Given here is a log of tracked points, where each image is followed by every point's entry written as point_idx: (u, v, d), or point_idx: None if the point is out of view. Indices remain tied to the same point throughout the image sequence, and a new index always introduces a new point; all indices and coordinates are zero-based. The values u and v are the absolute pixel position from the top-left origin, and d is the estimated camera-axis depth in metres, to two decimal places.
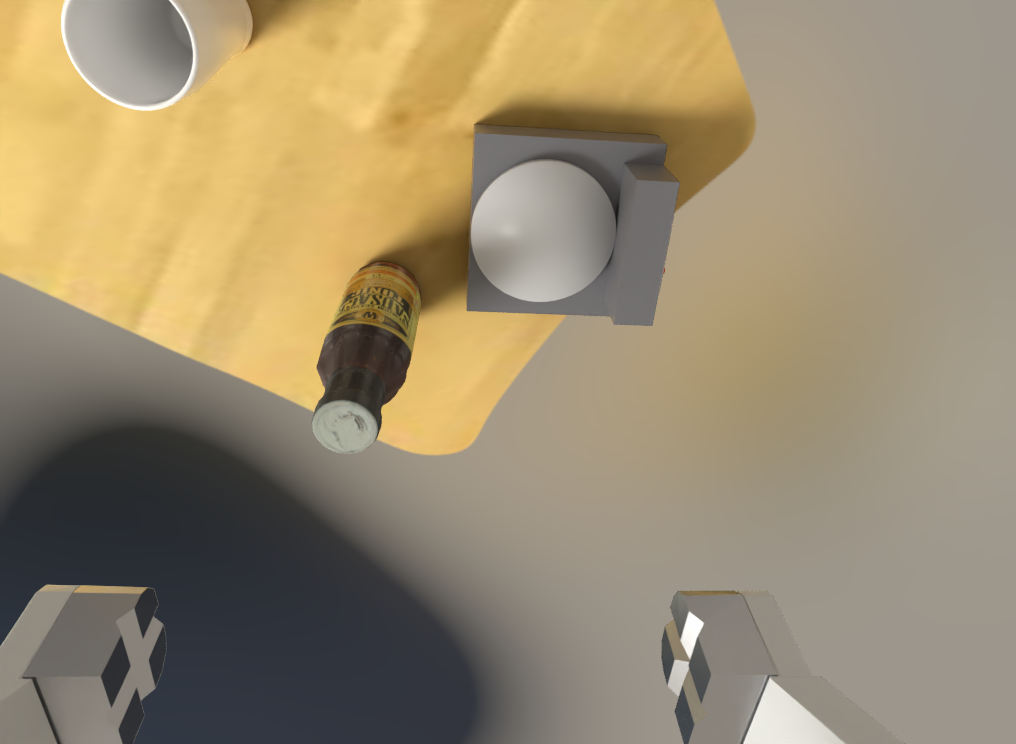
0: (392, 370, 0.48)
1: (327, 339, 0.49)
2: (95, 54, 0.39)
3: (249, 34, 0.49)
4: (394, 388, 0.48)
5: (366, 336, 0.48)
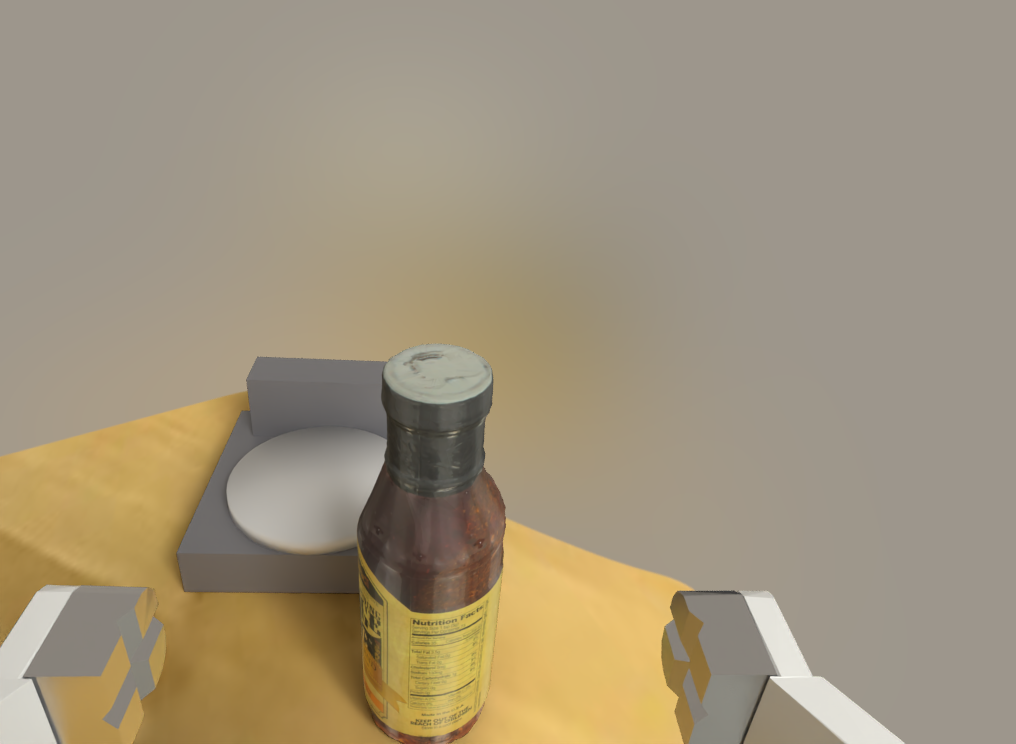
0: None
1: (387, 574, 0.28)
2: None
3: None
4: None
5: (367, 500, 0.30)
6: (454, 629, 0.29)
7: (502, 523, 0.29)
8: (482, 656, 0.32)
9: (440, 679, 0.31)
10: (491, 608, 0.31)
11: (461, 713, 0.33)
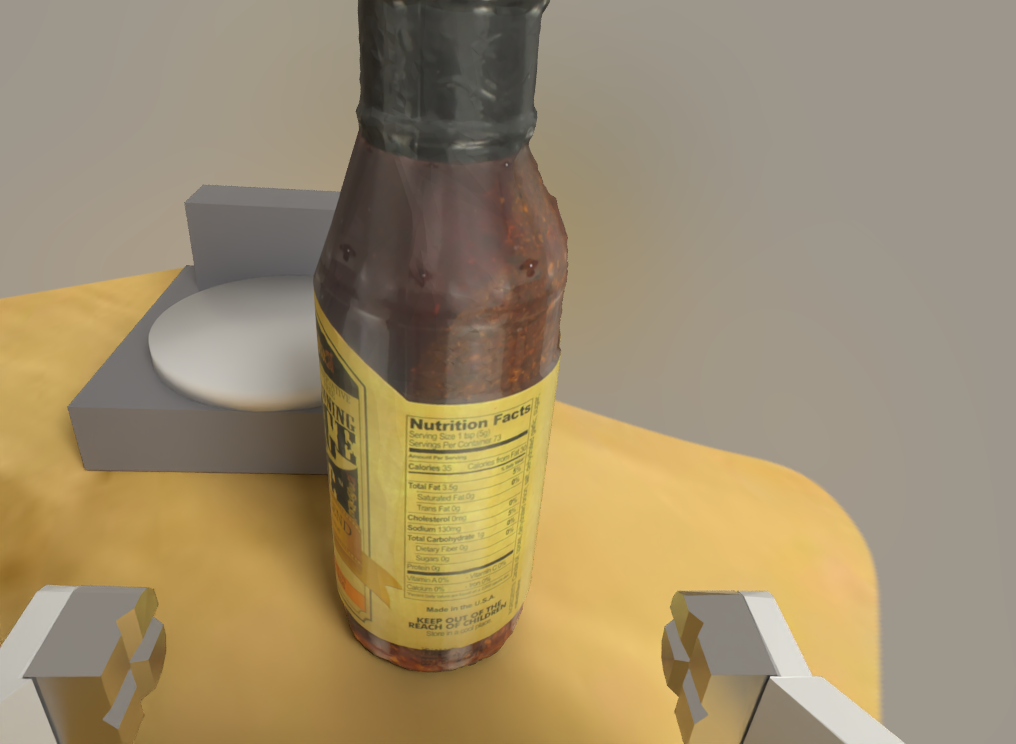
0: None
1: (364, 329, 0.16)
2: None
3: None
4: None
5: (331, 224, 0.17)
6: (482, 442, 0.17)
7: (565, 255, 0.17)
8: (525, 511, 0.20)
9: (457, 542, 0.19)
10: (542, 421, 0.18)
11: (491, 612, 0.21)
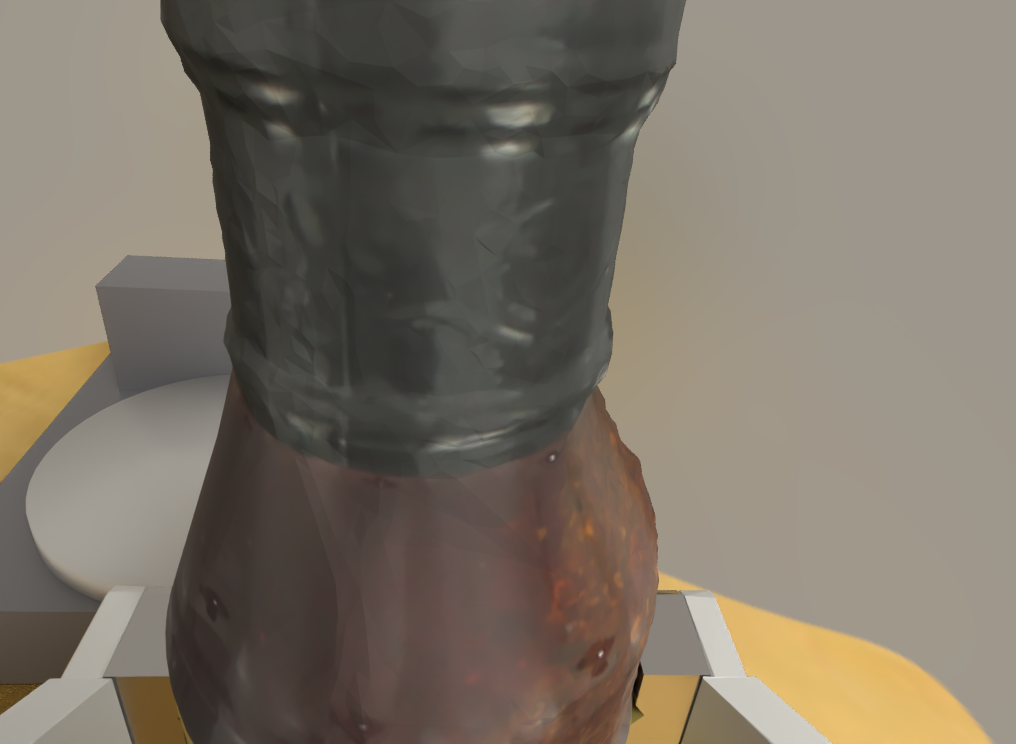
0: None
1: None
2: None
3: None
4: None
5: None
6: None
7: (656, 571, 0.09)
8: None
9: None
10: None
11: None
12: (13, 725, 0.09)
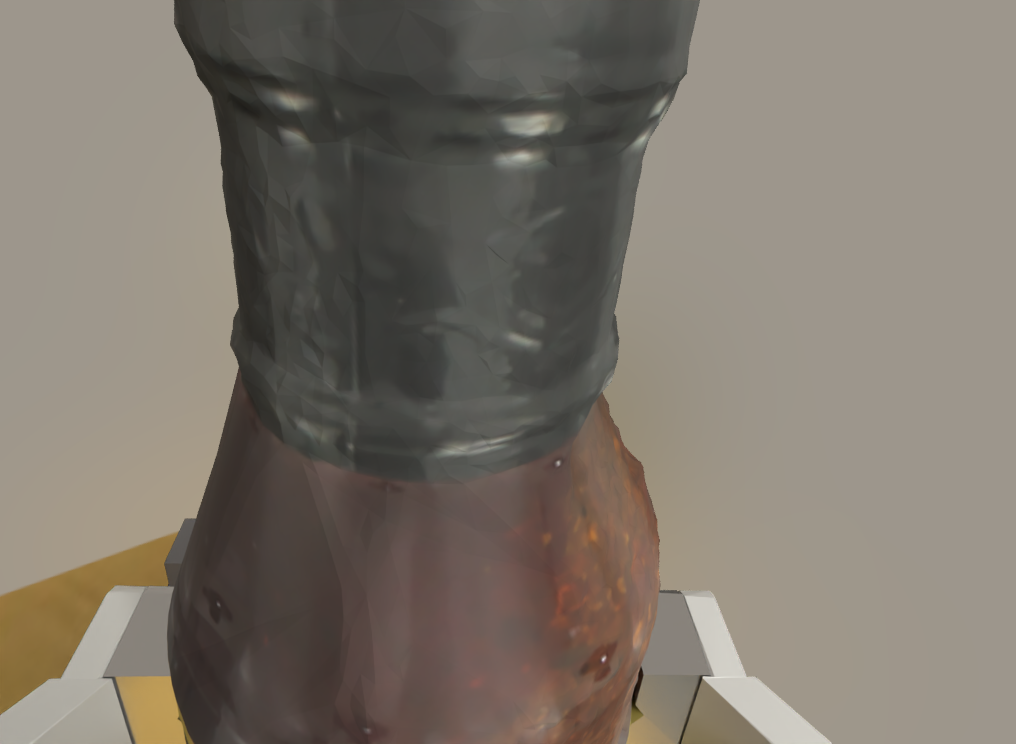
0: None
1: None
2: None
3: None
4: None
5: None
6: None
7: (658, 576, 0.09)
8: None
9: None
10: None
11: None
12: (13, 725, 0.09)
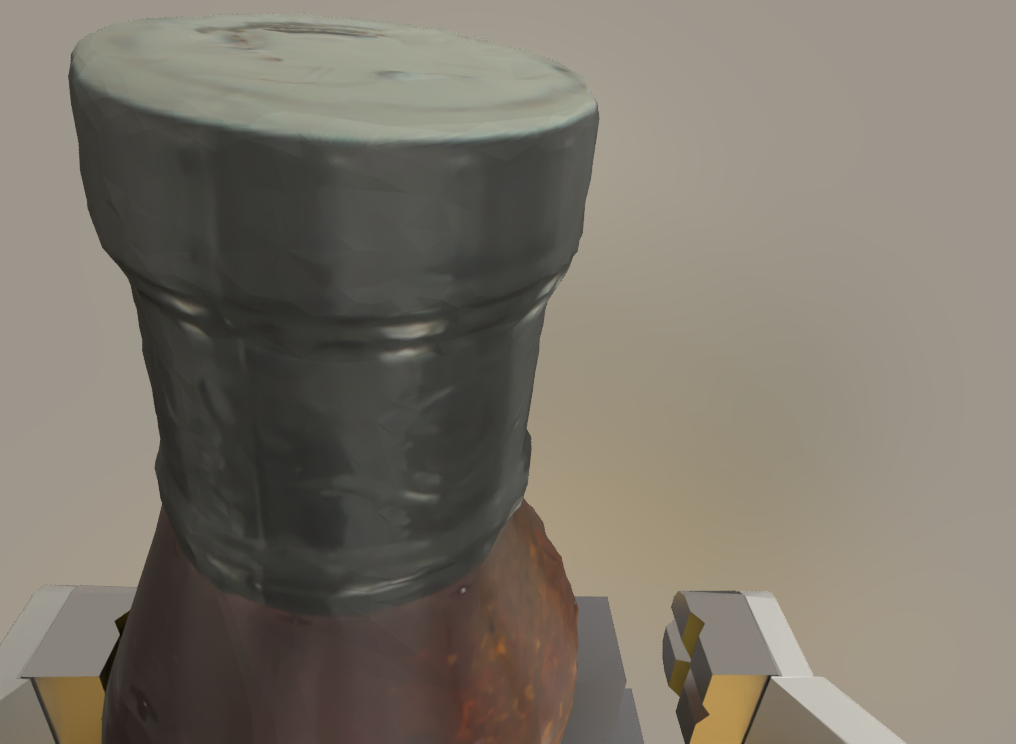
0: None
1: None
2: None
3: None
4: None
5: None
6: None
7: (573, 669, 0.09)
8: None
9: None
10: None
11: None
12: None
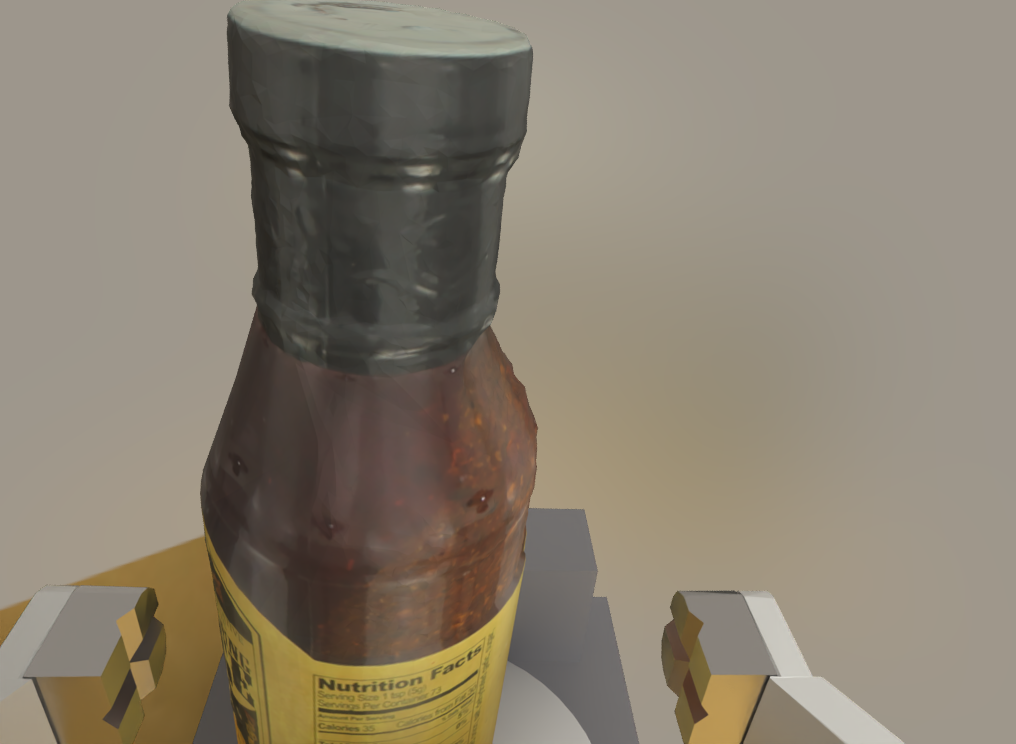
0: None
1: (255, 571, 0.12)
2: None
3: None
4: None
5: None
6: (417, 698, 0.13)
7: (532, 461, 0.13)
8: None
9: None
10: (498, 649, 0.14)
11: None
12: None
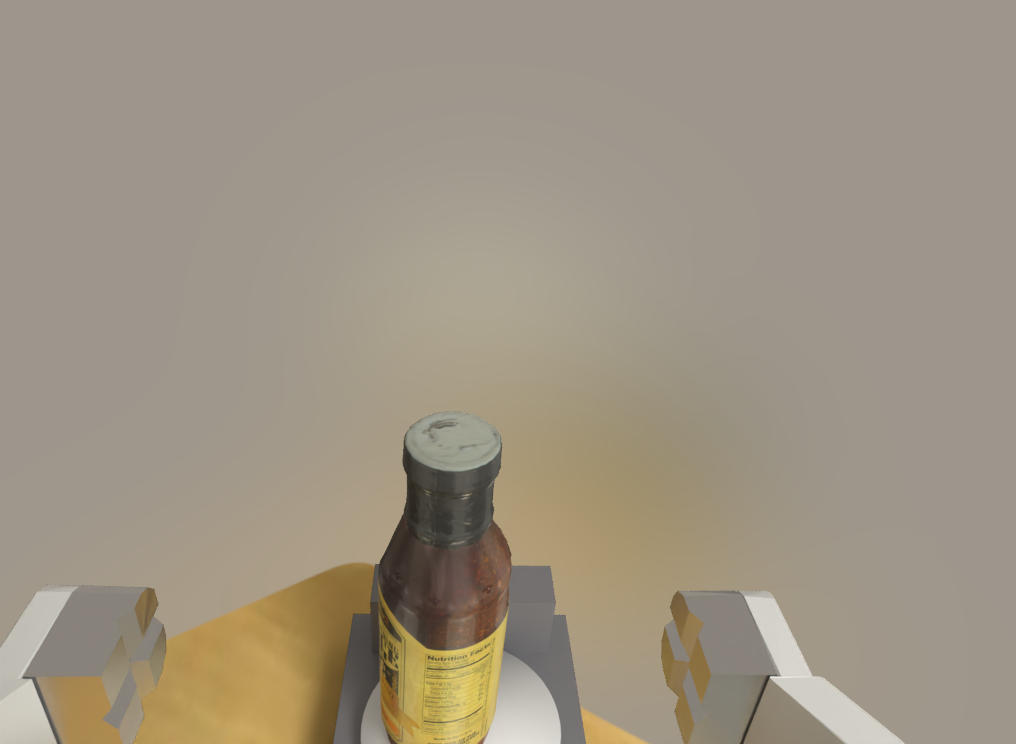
0: None
1: (405, 615, 0.32)
2: None
3: None
4: None
5: None
6: (465, 663, 0.33)
7: (508, 569, 0.33)
8: (488, 686, 0.35)
9: (451, 708, 0.34)
10: (497, 644, 0.34)
11: (470, 738, 0.37)
12: None
